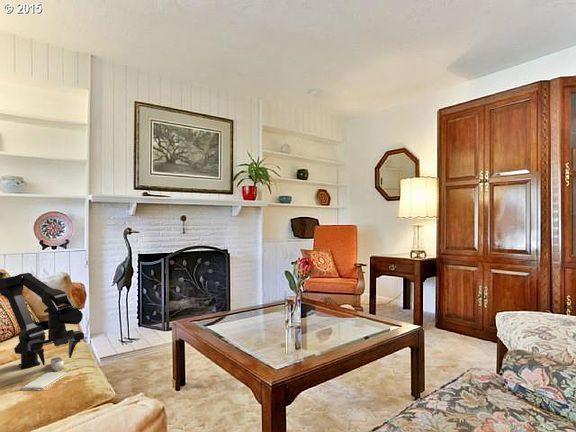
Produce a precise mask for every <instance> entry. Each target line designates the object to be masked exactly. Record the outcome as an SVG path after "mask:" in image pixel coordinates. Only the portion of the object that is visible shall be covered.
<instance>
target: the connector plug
mask: <svg viewBox="0 0 576 432" xmlns="http://www.w3.org/2000/svg"><path fill="white" fill-rule="evenodd" d="M64 364H65V361H64V359H63V358H62V357H60V356H57V357H56V356H55V357H52V358H50V368H51V367H52V368H53V369H54V370H55V371H54V370H53V369H52V368H51V369H52V370H53V371H54V372H59V371H58V370H60V371H63V370H64V369H65V365H64ZM62 369H63V370H62Z"/></svg>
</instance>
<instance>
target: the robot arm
mask: <svg viewBox="0 0 576 432" xmlns="http://www.w3.org/2000/svg"><path fill="white" fill-rule="evenodd" d="M24 287H25V288H27V289H28V290H29V291H31V292H32V293H34V294H35V295H37V296H38V297H39V298H41V302H42V303H43V305H44V306H46V307H47V308H45V310H43V313H47V318H48V319H47V321H48V323H47V324H48V325H47V329H48V330H47V332H48V336H47V339H46V332H45V330H44V326H43V325H37V324H35V321H34V320H33V318H32V314H31V312H30V310H29V308H28V305H27V302H26V301H25V299H24V296H23V290H24ZM0 295H1V296H2V297H4V298H5V299H7V301H8V304H9V306H10V309H11V310H12V312H13V315H14V317H15V320H16V322H17V325H18V327H19V330H20V331H19V335H18V341H19V342H18V343H17V345H16V346H15V347H14V348H13V350H14V354H16V355H20V363H18V367H19V368H20V370H25V369H28V368H31V367H32V368H33V367H35V366H40V365H41V364H42V366H45V365H46V364H45V363H46V362H45V361H46V360H45V354H44V351H45V349H44V348H43V347H44V346H48V345H54V346H55V347H60V346H62V345H67V344H68V358H69V359H71V358H72V356H73V354H74V350H75V348H76V346H77V344H78V343H80V342H81V341H82V340H84V339H85V334H84V332H82V331H81V330H75V331H74V329H70V330H67V327H66V325H78V324H80V323H81V322H82V321H83V320H82V319H83V315H84V314H83V313H82V310H80V309H79V306H74V304H73V303H72V301H71V299H70V297H69V296H68V293H66V291H64V290H61V289H57V288H54V287H53V288H52V287H50V286H49V285H47V284H46V283H44V282H43V281H41V280H40V279H39V278H37V277H36V276H34V275H33V273H31V272H23V273H19V274H17V275H14V276H13V275H12V276H6V277H2V278H0ZM39 360H40V361H39Z"/></svg>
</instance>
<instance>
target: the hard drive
mask: <svg viewBox="0 0 576 432" xmlns="http://www.w3.org/2000/svg"><path fill="white" fill-rule="evenodd" d="M67 375H68V372H66V371H63V372H62V371H53V372H52V371H50V372H48V371H47V372H46V373H44V374H42V375H41V376H39V377H37V378H36V379H34V380H32V381H31V382H29V383H27V384H26V385H23V386H21V388H20V390H21V391H30V390H29V389H35V390H34V391H44V390H45V388H46V387H47V388H49V387H50V386H52V385H53V383H54V384H55V383H57V382H58V381H60V380H61V379H62V378H65V377H66V376H67ZM59 379H60V380H59ZM56 381H57V382H56ZM51 384H52V385H51ZM49 385H50V386H49ZM48 386H49V387H48ZM47 388H46V389H47ZM38 389H40V390H38ZM43 389H44V390H43Z"/></svg>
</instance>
